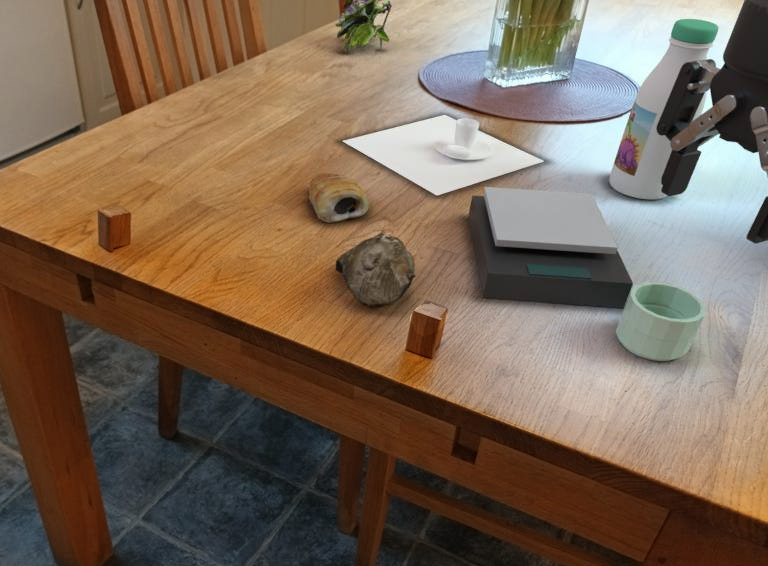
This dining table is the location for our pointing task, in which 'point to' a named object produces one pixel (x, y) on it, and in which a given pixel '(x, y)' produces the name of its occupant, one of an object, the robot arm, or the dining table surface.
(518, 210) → the scale
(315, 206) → the pastry
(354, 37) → the passion flower
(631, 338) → the cup
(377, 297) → the fossilized seashell
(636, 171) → the milk bottle
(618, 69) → the dining table surface
